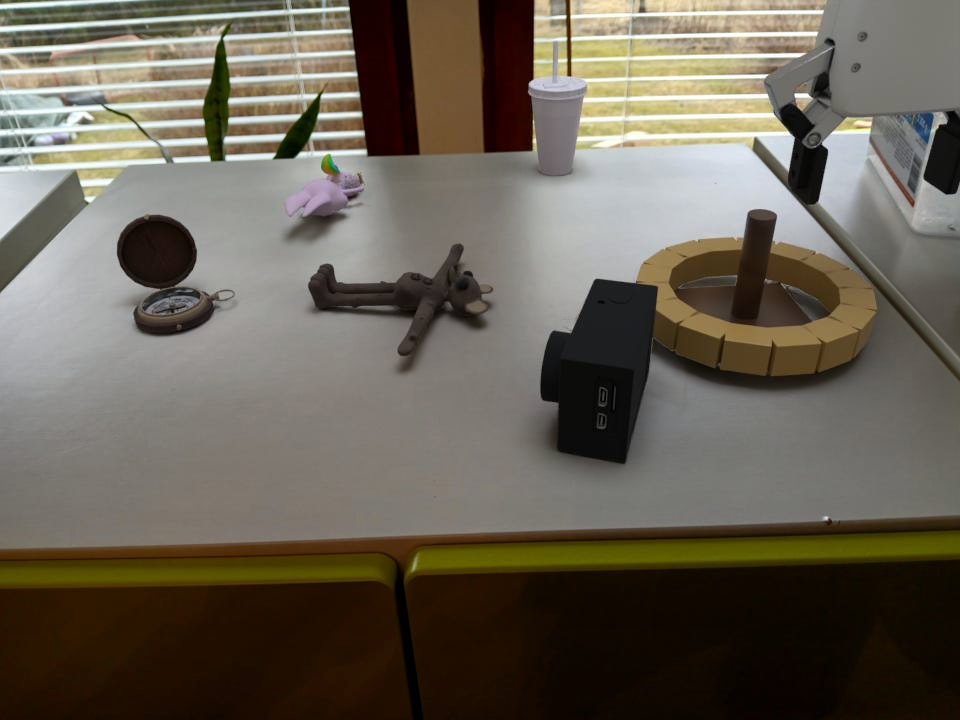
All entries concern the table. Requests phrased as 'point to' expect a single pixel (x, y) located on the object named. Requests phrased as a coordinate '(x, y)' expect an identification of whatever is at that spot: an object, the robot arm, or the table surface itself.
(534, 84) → the smoothie
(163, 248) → the compass
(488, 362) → the table surface
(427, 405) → the table surface
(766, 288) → the brown peg stand
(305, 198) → the rabbit figure
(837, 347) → the block ring
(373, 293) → the bear figurine
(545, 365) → the digital camera
